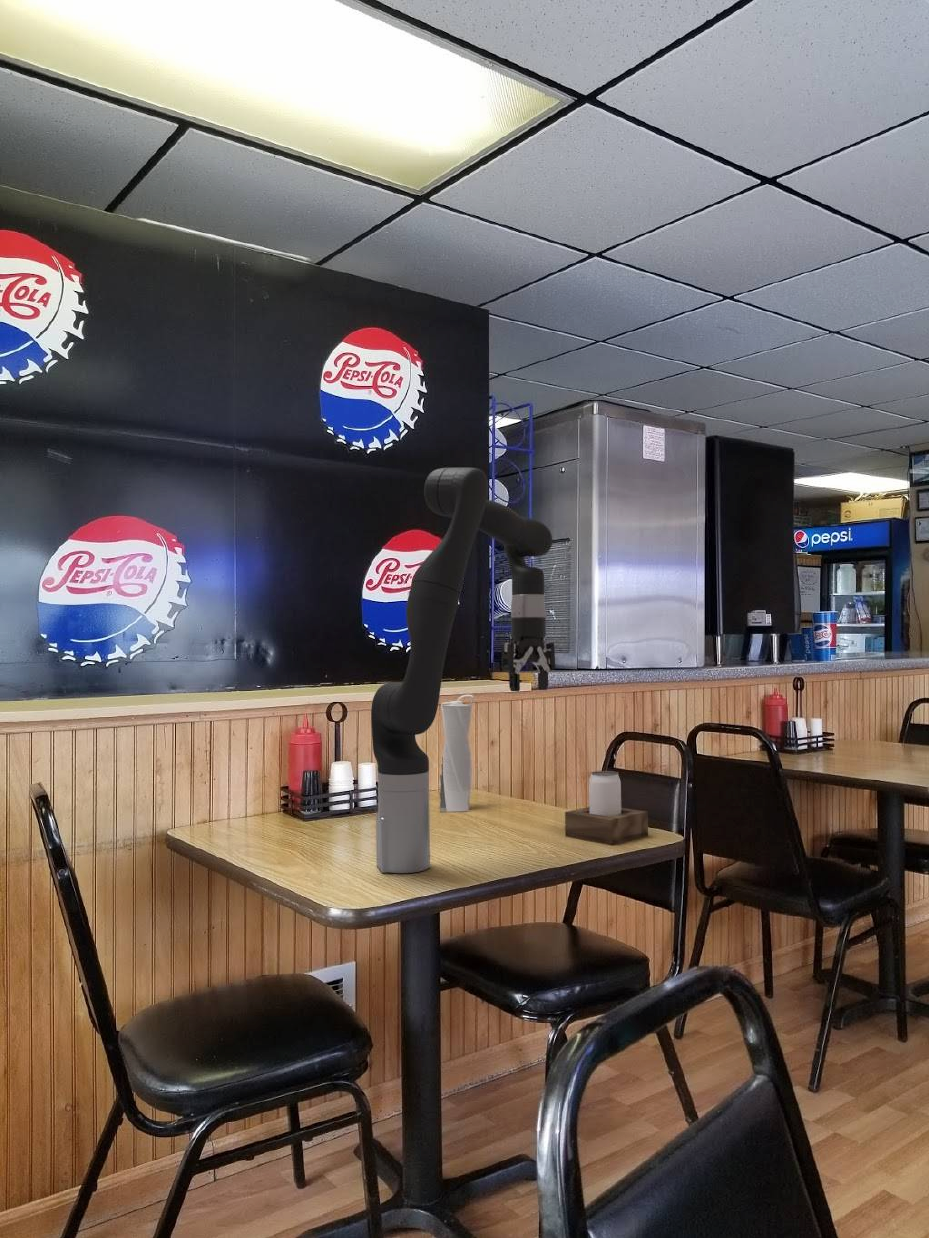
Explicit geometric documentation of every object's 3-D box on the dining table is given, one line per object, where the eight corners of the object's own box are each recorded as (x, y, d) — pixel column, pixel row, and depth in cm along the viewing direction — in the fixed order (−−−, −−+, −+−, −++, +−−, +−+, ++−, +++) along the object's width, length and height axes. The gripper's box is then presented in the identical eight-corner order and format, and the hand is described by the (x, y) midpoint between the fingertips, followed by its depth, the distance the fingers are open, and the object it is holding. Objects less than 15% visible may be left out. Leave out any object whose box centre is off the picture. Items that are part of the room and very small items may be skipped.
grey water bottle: (473, 807, 228) (472, 693, 229) (475, 813, 220) (474, 695, 221) (439, 808, 228) (438, 694, 229) (440, 814, 220) (438, 695, 220)
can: (621, 834, 188) (620, 775, 188) (589, 834, 189) (588, 774, 189) (621, 828, 194) (620, 770, 195) (590, 827, 196) (589, 770, 196)
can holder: (611, 845, 183) (610, 819, 183) (565, 836, 192) (565, 811, 192) (648, 835, 191) (647, 811, 192) (602, 827, 200) (602, 804, 200)
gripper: (517, 615, 195) (517, 692, 195) (563, 615, 204) (564, 689, 204) (492, 616, 201) (493, 691, 200) (538, 616, 210) (539, 688, 210)
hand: (529, 690), depth 202 cm, fingers open, 8 cm apart
